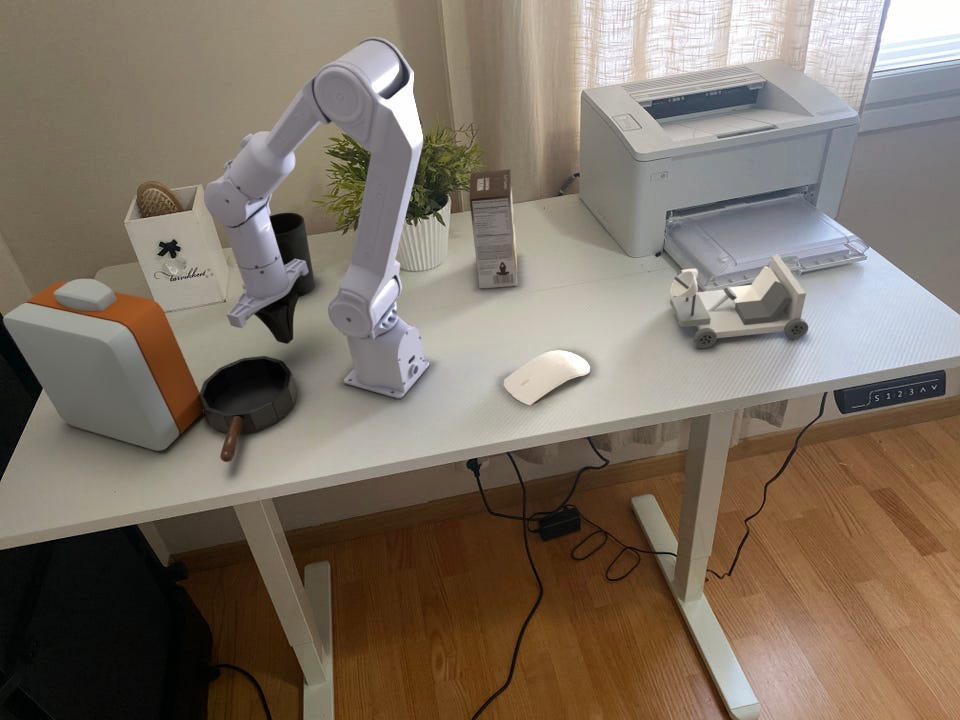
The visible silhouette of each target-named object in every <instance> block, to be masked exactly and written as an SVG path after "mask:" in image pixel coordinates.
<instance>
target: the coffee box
mask: <svg viewBox="0 0 960 720" xmlns="http://www.w3.org/2000/svg"><path fill="white" fill-rule="evenodd" d="M513 196H514V195H513V183H512V171H511V169H509V168H508V169H500V170H499V169H498V170H487V171H486V170H485V171H480V172H472V173H470V181H469V207H470V216H471V226H472V234H473V242H474V243H473V245H474V253H475V261H476V262H475V263H476V270H477V271H476V272H477V280H478V281H477V282H478V287H479V289H494V288H507V287H517V286H518V262H517V242H516V241H517V239H516V225H515V211H514V210H515V209H514V199H513V198H514V197H513Z"/></svg>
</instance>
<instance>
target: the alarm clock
mask: <svg viewBox="0 0 960 720" xmlns="http://www.w3.org/2000/svg"><path fill="white" fill-rule="evenodd" d="M2 321H3V325H4V326H5V328H6V330H7V331H8V333H9V334H10V336H11V338H12V339H13V341H14V343H15V344H16V346H17V348H18V349H19V351H20V353H21V354H22V356H23V357H24V359H25V361H26V362H27V365H28V366H29V368H30V369H31V371H32V372H33V374H34V376H35V377H36V379H37V381H38V383H39V384H40V385H41V388H42V389H43V391H44V392H45V394H46V395H47V397H48V399H49V400H50V402H51V404H52V405H53V407H54V408H55V410H56V412H57V414H58V415H59V417H60V419H62V420H63V422H65V423H66V424H67V425H70V426H71V427H74V428H77V429H81V430H84V431H88V432H92V433H95V434H98V435H102V436H105V437H109V438H112V439H115V440H119V441H122V442H126V443H128V444H131V445H135V446H138V447H143V448H146V449H148V450H152V451H155V452H160V451H163V450H166V449H167V448H168V447H170V446H171V445H172V443H173V442H175V441H176V440H177V439H178V437H180V435H181V434H182V433H184V432H185V431H186V430H187V429H188V427H189V426H190V425H191V424H193V423H194V422H195V421H196V420H197V419H198V418H199V417H200V416H201V415H202V414H203V412H204V409H203V407H202V405H201V403H200V400H199V397H198V396H199V394H200V391H199V388H198V387H197V384H196V382H195V379H194V377H193V374H192V372H191V370H190V368H189V365H188V363H187V361H186V359H185V356H184V354H183V352H182V349H181V347H180V345H179V342H178V341H177V338H176V336H175V334H174V331H173V329H172V327H171V325H170V322H169V320H168V318H167V315H166V313H165V311H164V309H163V308H162V306H161V305H160V304H159V303H158V302H157V301H155V300H153V299H151V298H146V297H142V296H137V295H131V294H126V293H121V292H117V291H113V290H112V289H111V288H110V287H109V286H108V285H107V284H105V283H103V282H101V281H99V280H96V279H93V278H77V279H73V280H70V281H68V282H66V281H56V282H54V283H52V284H50V285H49V286H47V287H46V288H44V289H42V290H41V291H39V292H38V293H37V294H35V295H34V296H32V297H31V298H29V299H27V300H26V301H24V302H23V303H22V304H19V305H18V306H17V307H15V308H14V309H13V310H11V311H9V312H7V313H6V314H5V315H4V317H3V318H2Z"/></svg>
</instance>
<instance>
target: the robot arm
mask: <svg viewBox="0 0 960 720" xmlns="http://www.w3.org/2000/svg"><path fill="white" fill-rule="evenodd" d="M414 77H415V72H414V70H413V69H412V68H411V66H410V64H409V63H408V61H407V60H406V59H405V57H404V56H403V54H402V53H401V51H400V50H399V49H398V48H397V46H395V44H394V43H392V42H391V41H389V40H387V39H385V38H383V37H379V36H371V37H367V38H365V39H363V40H361V41H360V42H359V43H358V44H357V45H356V46H355V47H354V48H353V49H351V50H349V51H348V52H346V53H345V54H343V55H342V56H340V57H339V58H337V59H336V60H334V61H331V62H329V63H327V64H325V65H323V66H322V67H321V68H320V69H319V70H318V72H317V73H316V75H314V76H313V77H311V78H310V79H309V80H308V81H306V82H305V83H304V85H303V86H302V87H301V88H300V90H299V91H298V92H297V94H296V95H295V97H294V98H293V100H292V101H291V102H290V103H289V105H288V107H287V108H286V109H285V111H284V112H283V113H282V115H281V117H279V119H278V120H277V122H276V123H275V125H274V126H273V127H272V129H271V131H265V130H264V131H258V132H257V131H256V132H255V133H254V134H252V133H249V134H247V135H246V136H244V137H243V138H242V139H241V140H240V142H239V146H240V147H241V148H242V149H241V150H240V152H238V154H237V155H236V156H235V158H234V159H229V160H228V161H226V162H225V163H224V164H223V170H224V173H223V175H222V176H220V177H218V178H217V179H216V180H213V181H211V182H209V183H207V184H206V188H205V190H204V193H203V201H204V204H205V205H204V206H205V207H206V209H207V211H208V213H209V214H210V216H212V217H213V218H214V219H215V220H216V221H217V222H219V223H221V224H222V225H223V228H224V231H225V233H226V236H227V240H228V242H229V245H230V248H231V251H232V254H233V256H234V260H235V262H236V265H237V268H238V271H239V273H240V276H241V280H242V284H241V286H242V289H243V292H242V293H241V295H240V296H239V297H238V299H237V300H236V302H235V304H234V306H233V307H232V308H231V309H230V310H229V311H228V312H226V316H227V319H228V322H229V325H230V326H231V327H234V328H239V329H243V328H244V327H246V325H247V321H248V320H249V319H250V318H251V317H252V316H255V317H256V318H257V319H259V320H260V321H261V322H262V323H263V324H264V325H265V326H266V328H267V329H268V330H269V331H270V333H271V334H272V336H273V337H274V339H275V340H276V342H278V343H282V344H286V345H288V344H289V343H291V342H292V341H293V340H294V319H295V318H294V317H295V309H296V305H297V303H298V300H299V297H298V296H297V293H296V292H295V291H291V288H292V286H293V284H294V283H295V281H296V279H297V278H298V277H299V276H300V275H303V276H304V275H306V274H307V273H308V268H307V264H306V261H303V260H298V259H294V260H293V261H291V262H290V263H288V264H286V265H283V261H282V258H281V254H280V251H279V248H278V245H277V241H276V238H275V235H274V232H273V228H272V225H271V222H270V218H269V216H271V214H272V211H271V209H270V202H271V200H272V196H273V194H274V192H275V190H277V188H278V187H280V185H281V184H282V183H283V182H284V180H285V179H286V178H287V177H288V176H289V175H290V174H291V172H292V171H293V170H294V169H295V166H296V156H295V153H294V151H296V149H297V148H298V147H299V146H300V145H301V144H302V143H303V142H304V141H305V140H306V139H307V138H308V137H309V135H311V133H312V132H313V131H314V130H315V129H316V128H317V127H318V126H319V125H320V124H321V123H322V124H323V125H326V126H327V125H330V124H331V123H333V124H335V125H336V126H337V127H338V128H339V129H340V130H341V131H343V132H344V133H345V134H346V135H347V136H348V137H350V139H352V140H353V141H354V142H355V143H356V144H357V145H359V146H360V147H361V148H362V149H363V150H364V151H366V152H369V153H370V158H369V163H368V169H367V175H366V180H365V183H364V184H365V185H364V190H363V195H362V200H361V201H362V202H361V206H360V213H359V218H358V223H357V228H356V234H355V239H354V244H353V249H352V250H353V251H352V255H351V261H350V265H349V267H348V268H347V270H346V273H345V274H344V276H343V278H342V281H341V282H340V284H339V287H338V291H337V294H336V296H335V297H334V298H333V299H332V300H330V302H329V304H328V306H327V315H328V318H329V321H330V322H331V324H332V325H333V327H335V329H336V330H338V331H339V332H340V333H341V334H342V335H343V336H345V337H346V340H347V341H346V342H347V344H348V348H349V352H350V356H351V361H352V365H353V369H352V370H351V371H350V372H349V373H348V374H347V375H346V376H345V377H344V379H343V383H344V384H345V385H350V386H352V387H357V388H359V389H363V390H366V391H370V392H374V393H377V394H381V395H384V396H387V397H392V398H395V399H402V398H403V397H404V396H405V394H407V392H408V391H409V390H410V389H411V388H412V386H413V385H414V384H415V383H416V381H418V380H419V378H420V377H421V376H422V374H423V373H424V372H425V371H426V370H427V369H428V367H429V366H430V362H429V361H427V360H426V359H425V352H424V347H423V341H422V335H421V333H420V330H419V329H418V328H417V327H415V326H414V325H410V324H409V323H408V322H405V321H404V320H403V319H402V318H401V317H400V316H399V315H398V311H397V309H398V304H397V299H398V298H399V297H400V295H401V293H402V290H403V286H402V280H401V277H400V269H401V263H400V262H399V261H398V260H397V259H396V258H397V254H398V249H399V245H400V241H401V237H402V234H403V233H402V232H403V229H404V225H405V221H406V217H407V212H408V209H409V205H410V204H409V203H410V200H411V195H412V191H413V187H414V183H415V179H416V175H417V172H418V171H417V170H418V166H419V163H420V158H421V154H422V149H423V144H424V136H423V132H422V131H423V130H422V127H421V123H420V119H419V114H418V110H417V106H416V102H415V97H414V92H413V91H414V89H413V88H414V80H415V79H414Z"/></svg>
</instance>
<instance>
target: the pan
mask: <svg viewBox="0 0 960 720" xmlns="http://www.w3.org/2000/svg"><path fill="white" fill-rule="evenodd" d="M287 365H288V364H286V363H285V361H284V360H282V359H278V358H274V357H271V356H267V355H259V356H251V357H243V358H239V359H237V360H235V361H232V362H229V363H228V364H226V365H223V366H220V367H219V368H217V369H216V371H214V372H213V373H212V374H211V375H209V377H207V378H206V379H205V380H204V381H203V384H202V385H201V388H200V391H199V393H200V394H199V396H198V397H199V400H200V403H201V405H202V407H203V409H204V410H203V412H204V414H205V416H206V418H207V420H208V422H209V424H210V425H211V426H212V428H214V429H215V430H216V431H218V432H221V433H224V434H226V436H225V439H224V442H223V445H222V449H221V451H220V455H219V456H220V457H219V458H220V460H221V461H222V462H224V463H229V462H231V461H232V460H233V459H234V457H235V452H236V449H237V445H238V441H239V439H240V435H249V434H254V433H257V432H261V431H263V430H266V429H268V428H270V427H272V426H274V425H275V424H277V423H279V422H281V420H283V419H284V418H286V417H287V416H288V415H289V413H290V412H292V411H291V410H292V409H293V408H294V406H295V404H296V401H297V396H298V395H297V394H298V393H297V390H298V388H297V385H296V381H295V378H294V376H293V372H292V371H291V369H290V368H289V366H287Z"/></svg>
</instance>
